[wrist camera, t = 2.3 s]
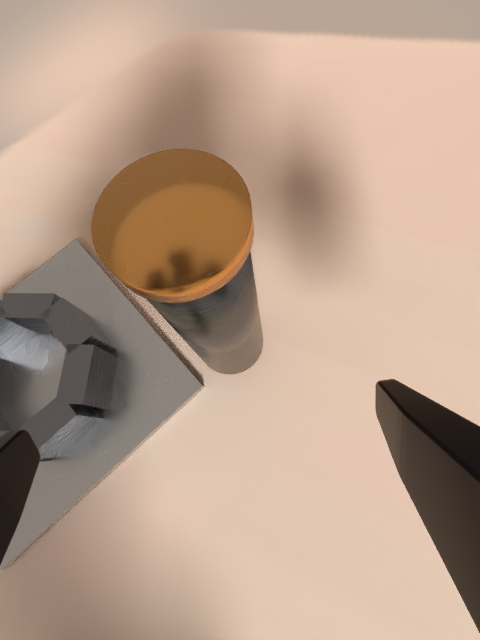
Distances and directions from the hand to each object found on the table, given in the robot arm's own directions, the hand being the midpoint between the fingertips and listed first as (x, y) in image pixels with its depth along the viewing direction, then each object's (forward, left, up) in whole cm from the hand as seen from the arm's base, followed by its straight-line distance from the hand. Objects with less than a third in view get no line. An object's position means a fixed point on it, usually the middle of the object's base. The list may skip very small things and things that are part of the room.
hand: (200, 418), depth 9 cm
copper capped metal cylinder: (+3, +4, -12) cm, 13 cm away
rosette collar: (-7, +10, -12) cm, 17 cm away
